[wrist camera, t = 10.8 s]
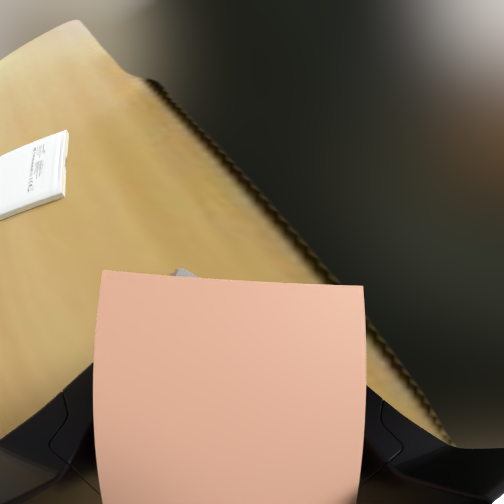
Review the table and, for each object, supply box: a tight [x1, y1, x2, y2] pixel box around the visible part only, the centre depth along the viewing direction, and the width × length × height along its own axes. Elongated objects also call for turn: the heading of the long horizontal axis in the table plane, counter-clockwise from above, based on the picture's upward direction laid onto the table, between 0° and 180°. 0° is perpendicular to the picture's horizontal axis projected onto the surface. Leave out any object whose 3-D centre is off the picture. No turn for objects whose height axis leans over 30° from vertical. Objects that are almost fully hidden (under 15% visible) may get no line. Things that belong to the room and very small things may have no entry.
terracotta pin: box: [93, 270, 366, 504], centre depth 9 cm, size 4×4×11 cm
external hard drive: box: [0, 130, 69, 221], centre depth 21 cm, size 2×8×12 cm
